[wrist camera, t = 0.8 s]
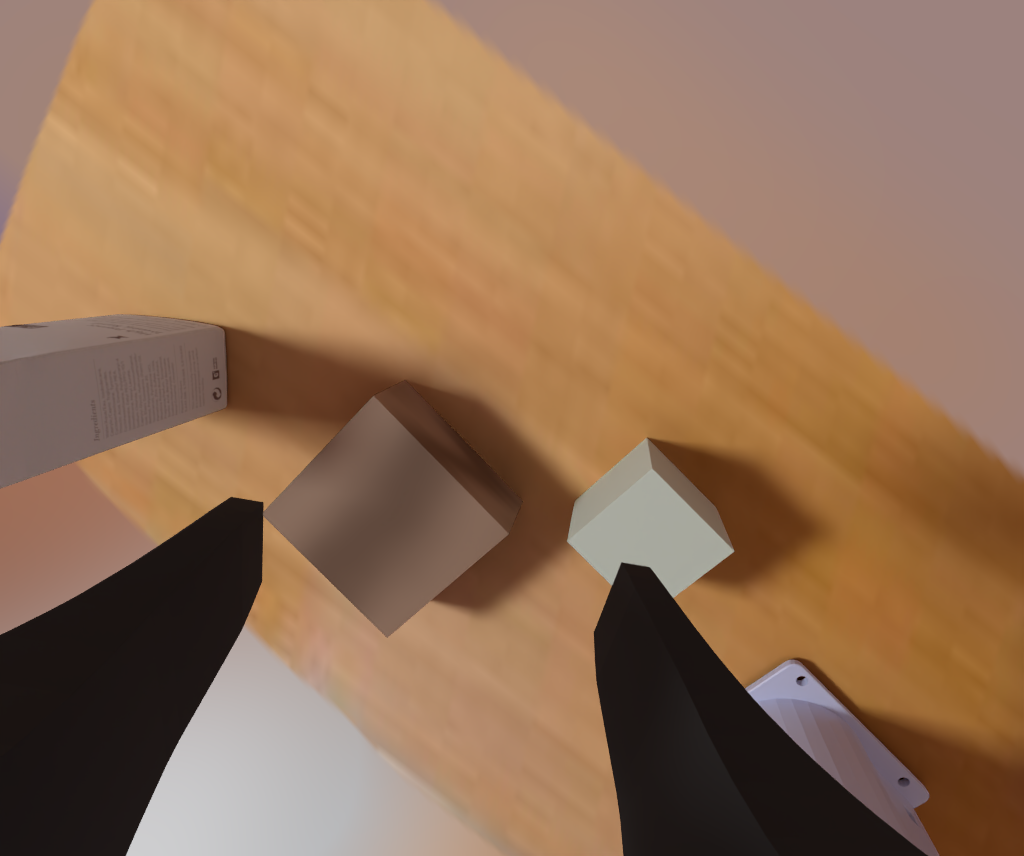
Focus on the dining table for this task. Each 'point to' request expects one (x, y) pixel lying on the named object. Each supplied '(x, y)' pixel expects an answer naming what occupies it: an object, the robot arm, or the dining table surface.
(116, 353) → the skincare box
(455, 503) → the walnut block
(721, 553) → the sage cube
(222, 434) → the dining table surface
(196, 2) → the dining table surface
